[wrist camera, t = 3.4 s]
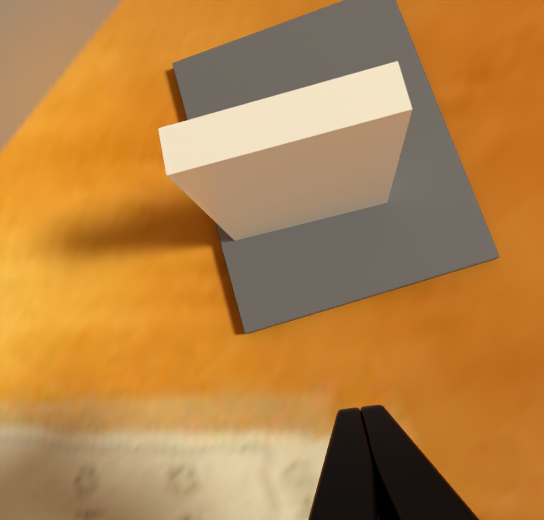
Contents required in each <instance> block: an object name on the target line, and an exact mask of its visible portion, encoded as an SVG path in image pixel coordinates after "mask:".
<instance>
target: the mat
mask: <svg viewBox="0 0 544 520" xmlns="http://www.w3.org/2000/svg"><path fill="white" fill-rule="evenodd" d="M396 61H398V63H399V66H400V70H401V73H402V76H403V79H404V83H405V86H406V89H407V93H408V96H409V99H410V102H411V106H412V113H411V117H410V121H409V124H408V128H407V132H406V135H405V139H404V143H403V146H402V150H401V154H400V158H399V161H398V165H397V169H396V172H395V176H394V180H393V183H392V187H391V191H390V194H389V198H388V202H387V203H385V204H381V205H377V206H373V207H369V208H364V209H360V210H356V211H352V212H348V213H344V214H340V215H336V216H332V217H328V218H324V219H320V220H316V221H312V222H308V223H304V224H300V225H296V226H292V227H288V228H284V229H280V230H276V231H272V232H268V233H264V234H260V235H256V236H252V237H248V238H244V239H240V240H236V241H235V240H233V239H232V238H231V237H230V236H229V235H228V234H227V233H226V232H225V231H224V230H223V229H222V228H221V227H220V226H219V225H218V224H217V223H216V222H215V224H216V227H217V231H218V235H219V238H220V242H221V246H222V250H223V253H224V257H225V261H226V264H227V268H228V272H229V275H230V279H231V283H232V287H233V290H234V294H235V298H236V301H237V305H238V309H239V313H240V316H241V320H242V324H243V327H244V331H245V334H249V333H253V332H256V331H259V330H262V329H266V328H269V327H272V326H276V325H279V324H282V323H286V322H289V321H292V320H296V319H299V318H302V317H306V316H309V315H312V314H315V313H319V312H322V311H325V310H329V309H332V308H335V307H339V306H342V305H345V304H349V303H352V302H355V301H359V300H362V299H365V298H368V297H372V296H375V295H378V294H382V293H385V292H388V291H392V290H395V289H398V288H402V287H405V286H408V285H412V284H415V283H418V282H421V281H425V280H428V279H431V278H435V277H438V276H441V275H445V274H448V273H451V272H455V271H458V270H461V269H464V268H468V267H471V266H474V265H478V264H481V263H484V262H488V261H491V260H494V259H497V258H498V257H499V254H498V252H497V249H496V247H495V244H494V242H493V239H492V237H491V234H490V232H489V230H488V227H487V225H486V222H485V220H484V217H483V215H482V212H481V210H480V207H479V205H478V202H477V200H476V197H475V195H474V193H473V190H472V188H471V185H470V183H469V180H468V178H467V175H466V173H465V170H464V168H463V165H462V163H461V160H460V158H459V156H458V153H457V151H456V148H455V146H454V143H453V141H452V138H451V136H450V133H449V131H448V128H447V126H446V123H445V121H444V119H443V116H442V114H441V111H440V109H439V106H438V104H437V101H436V99H435V96H434V94H433V91H432V89H431V86H430V84H429V81H428V79H427V77H426V74H425V72H424V69H423V67H422V64H421V62H420V59H419V57H418V54H417V52H416V49H415V47H414V44H413V42H412V40H411V37H410V35H409V32H408V30H407V27H406V25H405V22H404V20H403V17H402V15H401V12H400V10H399V7H398V5H397V3H396V0H344V1H341V2H339V3H336V4H333V5H330V6H328V7H325V8H322V9H319V10H317V11H314V12H311V13H308V14H306V15H303V16H300V17H297V18H295V19H292V20H289V21H287V22H284V23H281V24H278V25H276V26H273V27H270V28H267V29H265V30H262V31H259V32H256V33H254V34H251V35H248V36H246V37H243V38H240V39H237V40H235V41H232V42H229V43H226V44H224V45H221V46H218V47H215V48H213V49H210V50H207V51H204V52H202V53H199V54H196V55H194V56H191V57H188V58H185V59H183V60H180V61H177V62H174V63H172V64H173V68H174V71H175V75H176V79H177V83H178V86H179V90H180V94H181V97H182V101H183V105H184V109H185V112H186V116H187V120H190V119H193V118H197V117H201V116H204V115H208V114H211V113H215V112H218V111H222V110H225V109H229V108H233V107H236V106H240V105H243V104H247V103H250V102H254V101H257V100H261V99H264V98H268V97H272V96H275V95H279V94H282V93H286V92H289V91H293V90H296V89H300V88H304V87H307V86H311V85H314V84H318V83H321V82H325V81H328V80H332V79H336V78H339V77H343V76H346V75H350V74H353V73H357V72H360V71H364V70H367V69H371V68H375V67H378V66H382V65H385V64H389V63H392V62H396Z"/></svg>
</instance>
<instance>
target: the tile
mask: <svg viewBox="0 0 544 520" xmlns="http://www.w3.org/2000/svg"><path fill="white" fill-rule="evenodd" d="M411 113H412V106H411V102H410V99H409V96H408V93H407V89H406V86H405V83H404V79H403V76H402V73H401V70H400V66H399V63H398V61H396V62H392V63H389V64H385V65H382V66H378V67H375V68H371V69H367V70H364V71H360V72H357V73H353V74H350V75H346V76H343V77H339V78H336V79H332V80H328V81H325V82H321V83H318V84H314V85H311V86H307V87H304V88H300V89H296V90H293V91H289V92H286V93H282V94H279V95H275V96H272V97H268V98H264V99H261V100H257V101H254V102H250V103H247V104H243V105H240V106H236V107H233V108H229V109H225V110H222V111H218V112H215V113H211V114H208V115H204V116H201V117H197V118H193V119H190V120H186V121H183V122H179V123H176V124H172V125H169V126H165V127H161V128H158V129H159V135H160V141H161V147H162V152H163V158H164V164H165V170H166V175H167V176H168V177H169V178H170V179H171V180H172V181H173V182H174V183H175V184H176V185H177V186H178V187H179V188H180V189H181V190H182V191H183V192H184V193H185V194H186V195H187V196H189V197H190V198H191V199H192V200H193V201H194V202H195V203H196V204H197V205H198V206H199V207H200V208H201V209H202V210H203V211H204V212H205V213H206V214H207V215H208V216H209V217H210V218H212V219H213V220H214V221H215V222H216V223H217V224H218V225H219V226H220V227H221V228H222V229H223V230H224V231H225V232H226V233H227V234H228V235H229V236H230V237H231V238H232V239H233V240H235V241H236V240H240V239H244V238H248V237H252V236H256V235H260V234H264V233H268V232H272V231H276V230H280V229H284V228H288V227H292V226H296V225H300V224H304V223H308V222H312V221H316V220H320V219H324V218H328V217H332V216H336V215H340V214H344V213H348V212H352V211H356V210H360V209H364V208H369V207H373V206H377V205H381V204H385V203H387V202H388V198H389V194H390V191H391V187H392V183H393V180H394V176H395V172H396V169H397V165H398V161H399V158H400V154H401V150H402V146H403V143H404V139H405V135H406V132H407V128H408V124H409V121H410V117H411Z"/></svg>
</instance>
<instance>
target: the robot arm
mask: <svg viewBox="0 0 544 520" xmlns="http://www.w3.org/2000/svg"><path fill="white" fill-rule="evenodd" d="M308 520H479V519H478V518H477V516H476V515H475V514H474V513H473V512H472V510H471V509H470V508H469V507H468V506H467V505H466V503H465V502H464V501H463V500H462V499H461V497H460V496H459V495H458V494H457V493H456V492H455V490H454V489H453V488H452V487H451V486H450V485H449V483H448V482H447V481H446V480H445V479H444V477H443V476H442V475H441V474H440V473H439V472H438V470H437V469H436V468H435V467H434V466H433V464H432V463H431V462H430V461H429V460H428V459H427V457H426V456H425V455H424V454H423V453H422V451H421V450H420V449H419V448H418V447H417V446H416V444H415V443H414V442H413V441H412V440H411V438H410V437H409V436H408V435H407V434H406V433H405V431H404V430H403V429H402V428H401V427H400V425H399V424H398V423H397V422H396V421H395V420H394V418H393V417H392V416H391V415H390V414H389V412H388V411H387V410H386V409H385V408H384V407H383V406H381V405H372V406H364V407H362V408H361V410H360V409H359V408H348V409H341V410H339V411H338V413H337V416H336V419H335V423H334V427H333V430H332V434H331V438H330V441H329V445H328V449H327V453H326V456H325V460H324V464H323V467H322V471H321V475H320V478H319V482H318V486H317V489H316V493H315V497H314V500H313V504H312V508H311V512H310V515H309V519H308Z"/></svg>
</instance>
